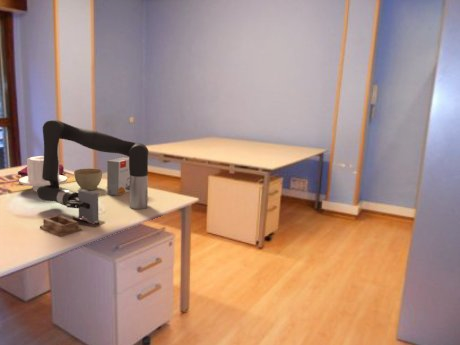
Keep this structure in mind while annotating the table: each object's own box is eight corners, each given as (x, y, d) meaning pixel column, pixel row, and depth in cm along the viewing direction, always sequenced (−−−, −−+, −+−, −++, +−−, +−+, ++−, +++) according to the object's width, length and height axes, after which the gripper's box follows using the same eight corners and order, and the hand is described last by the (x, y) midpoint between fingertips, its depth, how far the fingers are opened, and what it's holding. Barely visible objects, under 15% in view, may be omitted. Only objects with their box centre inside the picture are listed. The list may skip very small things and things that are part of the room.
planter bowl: (85, 184, 244) (85, 167, 242) (108, 187, 240) (107, 170, 238) (68, 189, 229) (67, 171, 227) (92, 193, 225) (91, 175, 222)
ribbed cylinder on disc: (59, 183, 243) (58, 153, 239) (73, 192, 224) (73, 160, 221) (14, 188, 226) (12, 156, 222) (26, 198, 208) (24, 163, 204)
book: (63, 174, 269) (63, 163, 267) (54, 183, 242) (53, 172, 240) (31, 173, 265) (30, 163, 263) (17, 183, 238) (16, 171, 236)
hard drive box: (118, 196, 221) (117, 162, 217) (106, 194, 224) (106, 160, 220) (133, 190, 236) (133, 158, 232) (122, 188, 238) (122, 156, 234)
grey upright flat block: (79, 219, 180) (78, 190, 177) (84, 218, 183) (83, 189, 180) (93, 224, 175) (92, 194, 172) (98, 222, 177) (98, 193, 174)
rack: (39, 228, 167) (39, 219, 166) (60, 222, 175) (60, 214, 174) (61, 236, 159) (60, 227, 158) (82, 230, 167) (81, 221, 166)
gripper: (55, 193, 178) (79, 201, 169) (81, 188, 190) (105, 194, 181) (55, 209, 180) (79, 217, 171) (81, 203, 191) (105, 210, 182)
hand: (92, 205), depth 176 cm, fingers closed on grey upright flat block, 3 cm apart
